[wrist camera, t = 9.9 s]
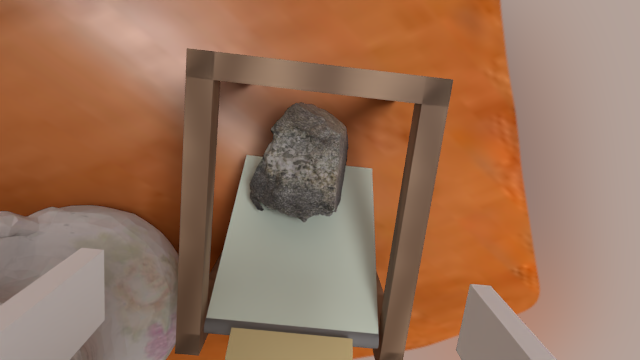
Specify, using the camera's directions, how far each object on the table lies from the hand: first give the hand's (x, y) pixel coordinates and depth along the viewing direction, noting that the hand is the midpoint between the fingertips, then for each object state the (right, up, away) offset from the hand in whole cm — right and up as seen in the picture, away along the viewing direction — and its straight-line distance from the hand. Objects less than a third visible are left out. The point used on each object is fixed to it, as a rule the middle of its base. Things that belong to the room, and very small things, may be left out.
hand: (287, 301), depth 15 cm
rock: (-1, +4, +26) cm, 27 cm away
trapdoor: (-1, -4, +22) cm, 23 cm away
